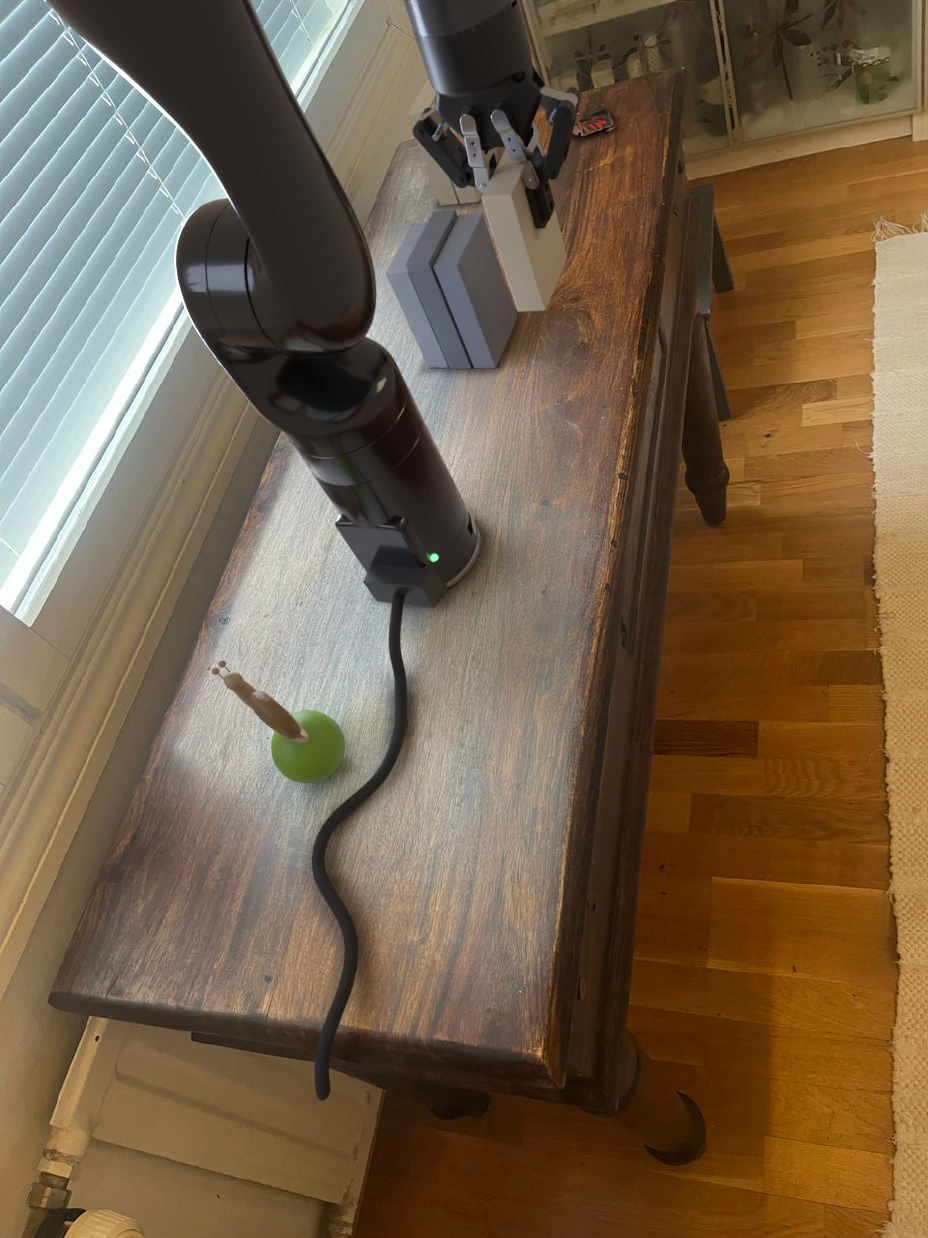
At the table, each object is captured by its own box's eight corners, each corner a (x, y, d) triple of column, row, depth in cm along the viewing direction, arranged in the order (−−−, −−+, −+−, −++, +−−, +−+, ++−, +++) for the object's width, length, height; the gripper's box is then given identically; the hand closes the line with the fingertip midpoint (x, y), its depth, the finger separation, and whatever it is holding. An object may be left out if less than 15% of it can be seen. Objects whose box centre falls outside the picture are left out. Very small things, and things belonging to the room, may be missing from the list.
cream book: (545, 310, 79) (511, 194, 71) (517, 311, 81) (480, 197, 72) (567, 257, 83) (537, 140, 74) (540, 259, 84) (507, 143, 75)
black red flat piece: (602, 108, 110) (602, 104, 109) (621, 125, 107) (620, 121, 106) (567, 127, 110) (566, 123, 110) (584, 144, 107) (583, 140, 106)
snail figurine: (315, 713, 74) (240, 634, 65) (369, 750, 71) (298, 672, 61) (270, 767, 73) (187, 693, 63) (323, 808, 69) (243, 736, 60)
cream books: (478, 202, 108) (447, 108, 99) (440, 205, 110) (406, 114, 101) (496, 164, 111) (468, 70, 102) (459, 169, 113) (428, 77, 104)
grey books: (495, 368, 90) (454, 260, 81) (427, 369, 94) (379, 265, 84) (518, 316, 94) (481, 206, 84) (451, 318, 97) (408, 213, 87)
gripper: (354, 46, 65) (436, 258, 78) (540, 12, 59) (594, 248, 72) (393, -9, 68) (465, 202, 82) (572, -47, 62) (618, 188, 76)
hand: (525, 223), depth 77 cm, fingers closed on cream book, 2 cm apart
